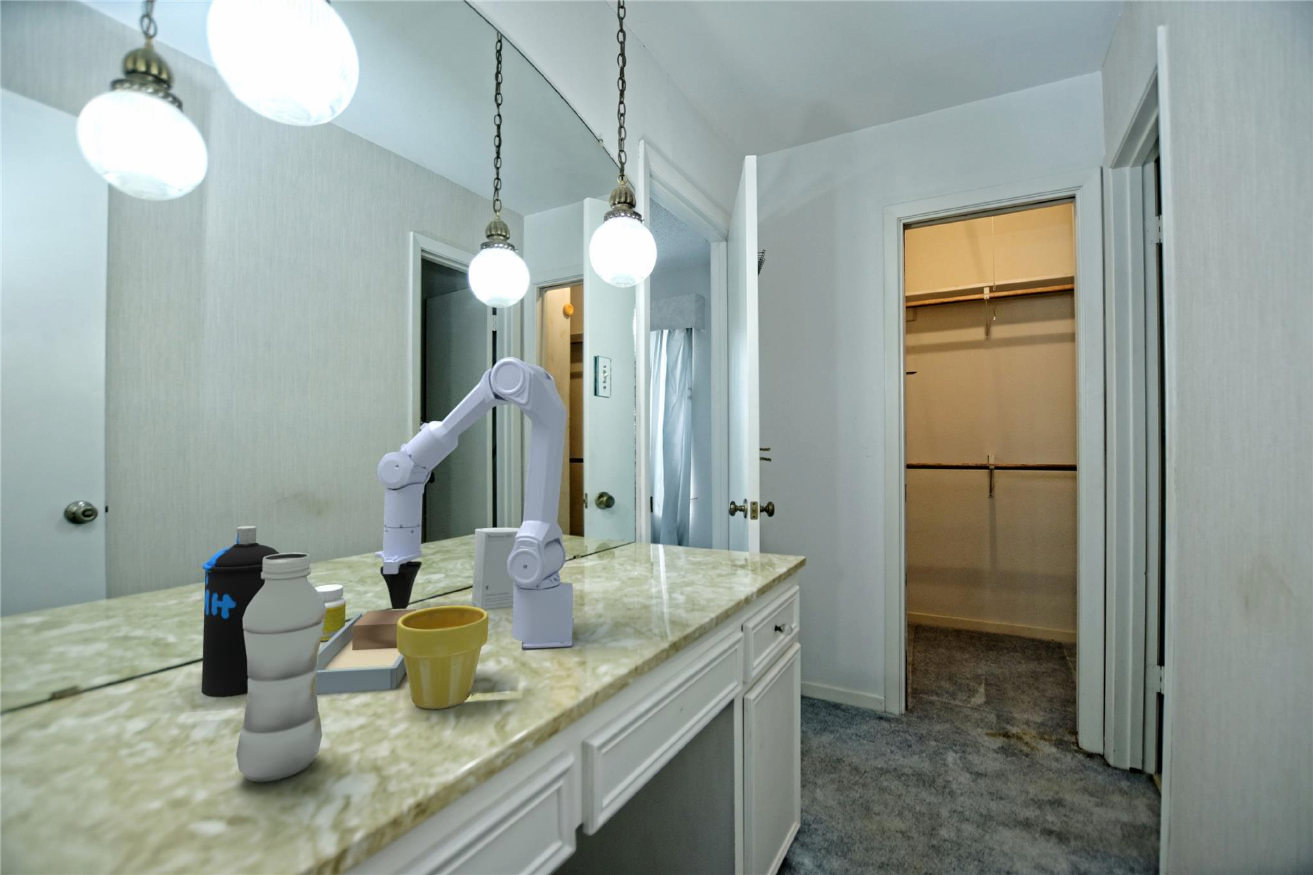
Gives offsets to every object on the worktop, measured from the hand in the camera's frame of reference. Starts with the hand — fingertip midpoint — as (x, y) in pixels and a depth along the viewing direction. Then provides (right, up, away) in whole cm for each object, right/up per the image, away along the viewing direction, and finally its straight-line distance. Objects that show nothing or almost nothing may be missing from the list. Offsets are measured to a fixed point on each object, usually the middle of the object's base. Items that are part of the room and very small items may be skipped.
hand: (400, 607), depth 93 cm
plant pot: (+16, -4, -25) cm, 30 cm away
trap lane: (+5, -3, -14) cm, 15 cm away
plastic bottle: (+7, -3, -40) cm, 41 cm away
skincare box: (+13, -4, +12) cm, 18 cm away
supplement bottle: (-8, -3, -8) cm, 11 cm away
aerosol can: (-8, -3, -24) cm, 26 cm away
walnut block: (+2, -2, -9) cm, 9 cm away
